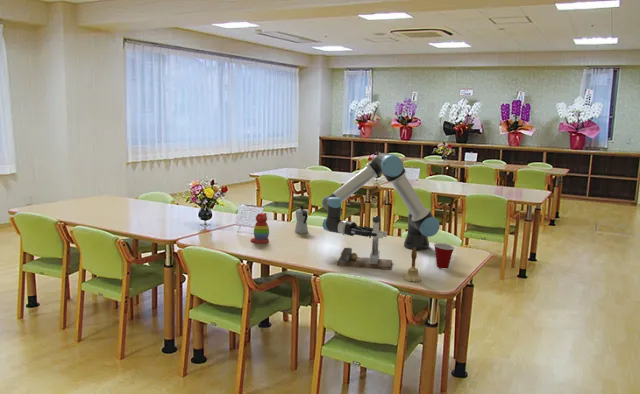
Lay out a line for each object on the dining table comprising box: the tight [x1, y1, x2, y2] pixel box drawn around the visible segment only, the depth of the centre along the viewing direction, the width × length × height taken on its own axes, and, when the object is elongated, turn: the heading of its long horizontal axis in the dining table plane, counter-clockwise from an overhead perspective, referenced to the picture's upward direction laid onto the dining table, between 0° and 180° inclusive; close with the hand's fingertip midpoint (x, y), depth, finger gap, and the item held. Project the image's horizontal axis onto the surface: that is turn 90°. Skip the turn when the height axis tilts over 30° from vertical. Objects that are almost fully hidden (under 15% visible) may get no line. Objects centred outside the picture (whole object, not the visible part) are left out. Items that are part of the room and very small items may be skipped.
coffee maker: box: [294, 205, 309, 235], centre depth 357 cm, size 15×9×18 cm, turn 23°
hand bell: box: [403, 248, 422, 283], centre depth 264 cm, size 8×8×16 cm
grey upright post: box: [369, 215, 381, 265], centre depth 287 cm, size 4×11×25 cm, turn 168°
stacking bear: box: [250, 212, 270, 245], centre depth 330 cm, size 11×10×18 cm
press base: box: [336, 247, 393, 271], centre depth 290 cm, size 28×14×6 cm, turn 78°
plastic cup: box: [433, 242, 456, 269], centre depth 287 cm, size 11×11×12 cm
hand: (384, 235), depth 283 cm, fingers closed on grey upright post, 3 cm apart
